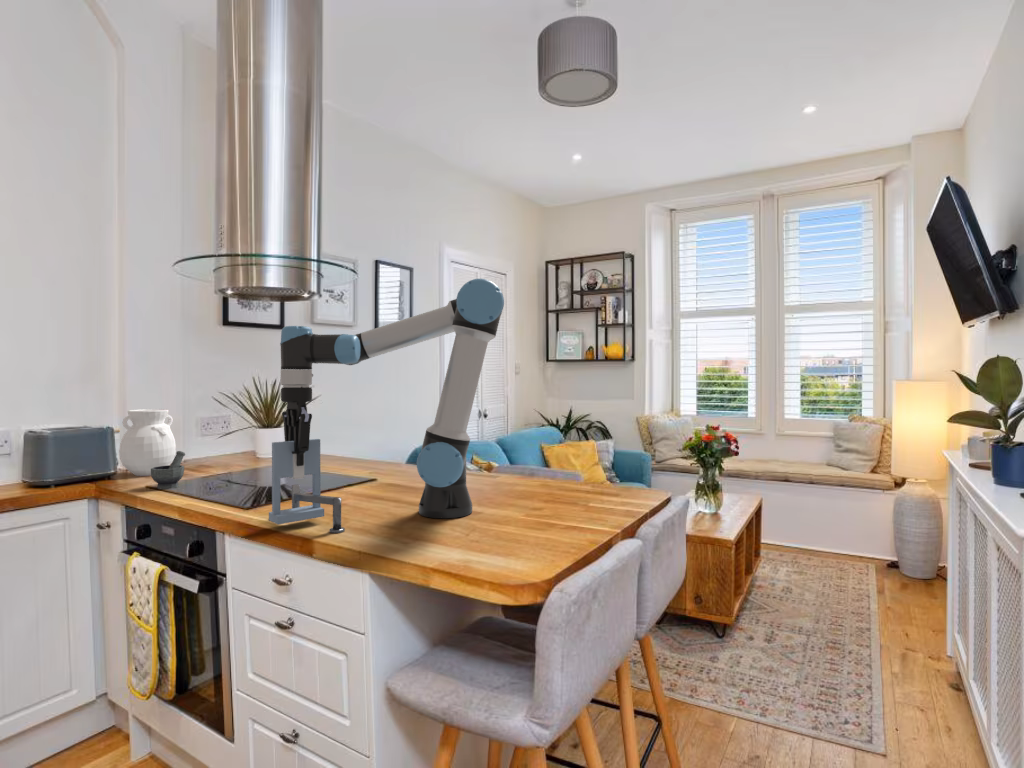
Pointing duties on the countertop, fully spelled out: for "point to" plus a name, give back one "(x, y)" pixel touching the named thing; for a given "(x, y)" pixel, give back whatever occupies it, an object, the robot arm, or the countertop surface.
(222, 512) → the countertop surface
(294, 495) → the grey bent bar frame
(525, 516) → the countertop surface
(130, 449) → the white handled vase
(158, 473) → the mortar and pestle
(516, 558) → the countertop surface
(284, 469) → the blue-grey upright frame
